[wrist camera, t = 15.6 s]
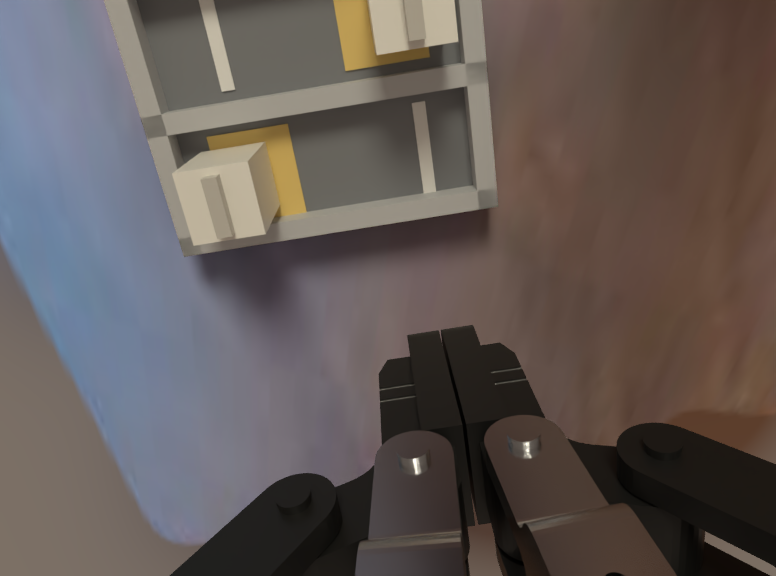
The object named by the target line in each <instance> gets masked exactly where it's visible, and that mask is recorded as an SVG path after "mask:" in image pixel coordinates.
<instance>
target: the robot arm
mask: <svg viewBox="0 0 776 576" xmlns="http://www.w3.org/2000/svg"><path fill="white" fill-rule="evenodd" d="M407 337H408V344H409V351H410V357H404V358H398V359H391V360H387V362H386V363H385V365H384V366H383V368H382V370H381V371H380V373H379V388H380V411H381V433H382V446H381V447H380V448H379V450H378V451H377V454H376V457H375V465H374V466H373V467H372V468H371V469H370V470H369V471H367V472H366V473H365V474H363V475H362V476H360V477H358V478H356V479H354V480H352V481H350V482H347V483H345V484H342V485H340V486H337V487H334V485H333V484H332V482H331V481H329V480H328V479H327V478H325V477H323V476H321V475H318V474H312V473H303V474H296V475H291V476H288V477H286V478H283V479H281V480H279V481H277V482H275V483H274V484H272V485H271V486H270V487H268V488H267V489H266V490H265V491H264V492H262V493H261V494H260V495H259V496H258V497H257V498H256V499H255V500H254V501H252V502H251V503H250V504H249V505H248V506H247V507H246V508H245V509H244V510H242V511H241V512H240V513H239V514H238V515H237V516H236V517H235V518H233V519H232V520H231V521H230V522H229V523H228V524H227V525H226V526H225V527H223V528H222V529H221V530H220V531H219V532H218V533H217V534H216V535H214V536H213V537H212V538H211V539H210V540H209V541H208V542H207V543H206V544H204V545H203V546H202V547H201V548H200V549H199V550H198V551H197V552H195V554H193V555H192V556H191V557H190V558H189V559H188V560H187V561H186V562H184V563H183V564H182V565H181V566H180V567H179V568H178V569H177V570H175V571H174V572H173V573H172V574H171V575H170V576H470V571H469V563H468V554H469V549H470V544H469V536H468V528H467V527H468V526H475V521H474V513H473V505H472V499H473V503H474V507H475V512H476V516H477V520H478V524H479V525H480V524H487V523H491V524H492V529H493V533H494V537H495V546H496V555H497V560H498V563H499V566H500V569H501V572H502V575H503V576H770V575H768V574H766V573H764V572H762V571H760V570H758V569H756V568H754V567H752V566H750V565H749V564H747V563H745V562H743V561H741V560H739V559H737V558H735V557H733V556H731V555H729V554H727V553H725V552H723V551H721V550H720V549H717V548H716V547H714V546H712V545H710V544H708V543H706V542H704V539H705V531H706V532H708V533H710V534H712V535H714V536H716V537H718V538H720V539H722V540H724V541H726V542H728V543H730V544H732V545H734V546H736V547H738V548H740V549H742V550H744V551H746V552H748V553H750V554H752V555H754V556H756V557H758V558H760V559H762V560H764V561H766V562H768V563H770V564H771V565H773V566H774V567H776V464H773V463H771V462H768V461H766V460H763V459H761V458H758V457H755V456H753V455H750V454H748V453H745V452H743V451H740V450H738V449H735V448H732V447H730V446H727V445H725V444H722V443H719V442H717V441H714V440H712V439H709V438H707V437H704V436H701V435H699V434H696V433H694V432H691V431H688V430H686V429H684V428H681V427H678V426H674V425H669V424H663V423H645V424H639V425H636V426H633V427H631V428H629V429H627V430H625V431H624V432H623V433H622V434H621V435H620V436H619V438H618V440H617V447H615V446H602V445H590V444H584V443H579V442H575V441H572V440H570V439H567V438H566V436H565V434H564V433H563V431H562V430H561V429H560V428H559V427H558V426H557V425H556V424H555V423H553V422H551V421H550V420H547V419H545V416H544V414H543V412H542V410H541V408H540V406H539V404H538V402H537V399H536V397H535V395H534V393H533V391H532V389H531V387H530V385H529V382H528V380H526V376H525V374H524V372H523V370H522V369H521V365H520V363H519V361H518V359H517V357H516V355H515V353H514V352H513V351H511V350H510V349H508V348H507V347H505V346H504V345H502V344H501V343H494V344H488V345H480V342H479V340H478V337H477V334H476V332H475V329H474V327H473V325H469V326H463V327H456V328H450V329H443V330H441V337H442V342H441V338H440V334H439V331H431V332H425V333H418V334H412V335H407ZM442 345H443V346H442ZM471 494H472V497H471Z"/></svg>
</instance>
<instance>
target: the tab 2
mask: <svg viewBox="0 0 776 576" xmlns="http://www.w3.org/2000/svg"><path fill="white" fill-rule="evenodd" d="M367 4H368V10H369V17H370V24H371V30H372V37H373V43H374V50H375V53H376V55H381V54H387V53H393V52H399V51H405V50H411V49H417V48H423V47H429V46H435V45H441V44H447V43H453V42H458V32H457V22H456V11H455V1H454V0H367Z"/></svg>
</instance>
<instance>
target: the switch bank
mask: <svg viewBox="0 0 776 576" xmlns="http://www.w3.org/2000/svg"><path fill="white" fill-rule="evenodd" d="M454 1H455V11H456V22H457V32H458V42H453V43H447V44H441V45H435V46H429V47H423V48H417V49H411V50H405V51H399V52H393V53H387V54H381V55H376V53H375V50H374V43H373V37H372V30H371V24H370V17H369V10H368V4H367V0H104V2H105V6H106V9H107V12H108V15H109V18H110V22H111V25H112V28H113V31H114V34H115V38H116V41H117V44H118V47H119V50H120V54H121V57H122V60H123V63H124V66H125V70H126V73H127V76H128V79H129V82H130V86H131V89H132V92H133V95H134V98H135V102H136V105H137V108H138V111H139V114H140V118H141V121H142V124H143V127H144V130H145V133H146V137H147V140H148V143H149V146H150V149H151V153H152V156H153V159H154V162H155V165H156V169H157V172H158V175H159V178H160V181H161V185H162V188H163V191H164V194H165V197H166V201H167V204H168V207H169V210H170V213H171V217H172V220H173V223H174V226H175V229H176V233H177V236H178V239H179V242H180V245H181V249H182V252H183V255H184V257H185V256H192V255H198V254H204V253H210V252H217V251H223V250H229V249H235V248H242V247H248V246H254V245H260V244H267V243H273V242H279V241H286V240H292V239H298V238H304V237H311V236H317V235H323V234H329V233H336V232H342V231H348V230H354V229H361V228H367V227H373V226H379V225H386V224H392V223H398V222H404V221H411V220H417V219H423V218H429V217H436V216H442V215H448V214H454V213H461V212H467V211H473V210H480V209H486V208H492V207H498V198H497V186H496V174H495V161H494V149H493V137H492V125H491V112H490V100H489V88H488V76H487V63H486V51H485V39H484V27H483V15H482V2H481V0H454ZM259 142H266V147H267V151H268V155H269V159H270V164H271V168H272V172H273V177H274V181H275V185H276V189H277V194H278V198H279V202H280V206H279V208H278V210H277V212H276V214H275V216H274V218H273V220H272V222H271V224H270V226H269V229H268V231H267V233H266V234H264V235H258V236H251V237H245V238H239V239H233V240H226V241H220V242H214V243H208V244H201V245H195V246H194V245H193V242H192V239H191V235H190V232H189V229H188V226H187V222H186V219H185V216H184V212H183V209H182V206H181V202H180V199H179V196H178V193H177V189H176V186H175V183H174V179H173V176H172V173H173V172H175V171H176V170H177V169H179V168H180V167H181V166H183V165H184V164H185V163H187V162H188V161H189V160H191V159H192V158H194V157H195V156H196V155H198V154H199V153H200V152H204V151H210V150H216V149H222V148H228V147H235V146H241V145H247V144H253V143H259Z"/></svg>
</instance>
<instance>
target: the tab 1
mask: <svg viewBox="0 0 776 576" xmlns="http://www.w3.org/2000/svg"><path fill="white" fill-rule="evenodd" d="M172 176H173V179H174V183H175V186H176V189H177V193H178V196H179V199H180V202H181V206H182V209H183V212H184V216H185V219H186V222H187V226H188V229H189V232H190V235H191V239H192V242H193V245H194V246H195V245H201V244H208V243H214V242H220V241H226V240H233V239H239V238H245V237H251V236H258V235H264V234H266V233H267V231H268V229H269V226H270V224H271V222H272V220H273V218H274V216H275V214H276V212H277V210H278V208H279V206H280V202H279V198H278V194H277V189H276V185H275V181H274V177H273V172H272V168H271V164H270V159H269V155H268V151H267V147H266V142H259V143H253V144H247V145H241V146H235V147H228V148H222V149H216V150H210V151H204V152H200V153H199V154H198V155H196V156H195V157H194V158H192V159H191V160H189V161H188V162H187V163H185V164H184V165H183V166H181V167H180V168H179V169H177V170H176V171H175V172H173V173H172Z"/></svg>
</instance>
